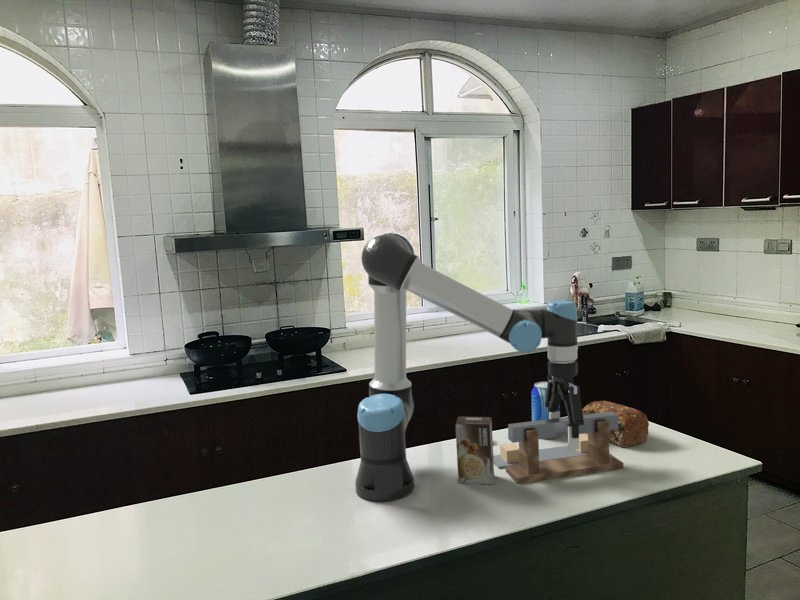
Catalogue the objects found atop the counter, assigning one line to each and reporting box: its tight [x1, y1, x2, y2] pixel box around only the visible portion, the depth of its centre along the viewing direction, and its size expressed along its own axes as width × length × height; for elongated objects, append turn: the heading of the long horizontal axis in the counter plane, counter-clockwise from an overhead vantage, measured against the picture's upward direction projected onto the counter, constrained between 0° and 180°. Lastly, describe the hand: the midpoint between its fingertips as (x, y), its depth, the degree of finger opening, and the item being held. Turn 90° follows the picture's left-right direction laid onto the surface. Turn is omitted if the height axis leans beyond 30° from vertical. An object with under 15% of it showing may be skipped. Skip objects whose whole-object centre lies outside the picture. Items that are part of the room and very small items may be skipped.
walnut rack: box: [505, 420, 624, 484], centre depth 170 cm, size 30×8×13 cm, turn 102°
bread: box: [582, 400, 650, 448], centre depth 193 cm, size 19×11×10 cm, turn 23°
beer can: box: [530, 381, 561, 440], centre depth 196 cm, size 8×8×16 cm
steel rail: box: [507, 411, 618, 444], centre depth 169 cm, size 30×3×4 cm, turn 102°
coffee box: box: [455, 416, 496, 485], centre depth 167 cm, size 9×6×16 cm
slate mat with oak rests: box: [493, 433, 588, 469], centre depth 181 cm, size 32×8×4 cm, turn 102°
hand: (563, 442), depth 170 cm, fingers open, 10 cm apart
